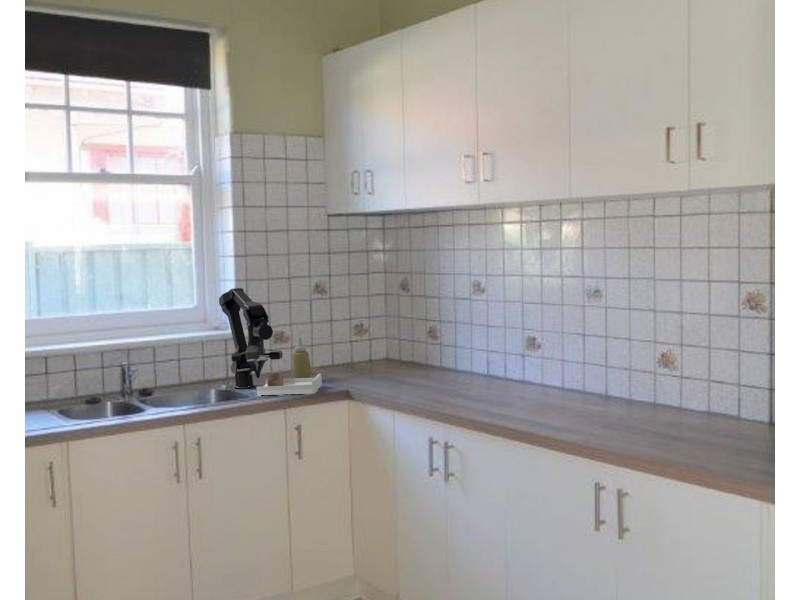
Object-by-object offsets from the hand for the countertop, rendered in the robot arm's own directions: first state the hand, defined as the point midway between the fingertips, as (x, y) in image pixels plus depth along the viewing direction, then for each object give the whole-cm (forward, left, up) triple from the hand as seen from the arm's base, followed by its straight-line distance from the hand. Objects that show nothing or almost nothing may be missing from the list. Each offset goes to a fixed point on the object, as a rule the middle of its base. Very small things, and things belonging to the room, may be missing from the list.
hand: (258, 377), depth 333 cm
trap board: (+12, 0, -6) cm, 13 cm away
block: (+7, 0, -4) cm, 8 cm away
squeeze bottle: (+13, +19, -6) cm, 24 cm away
